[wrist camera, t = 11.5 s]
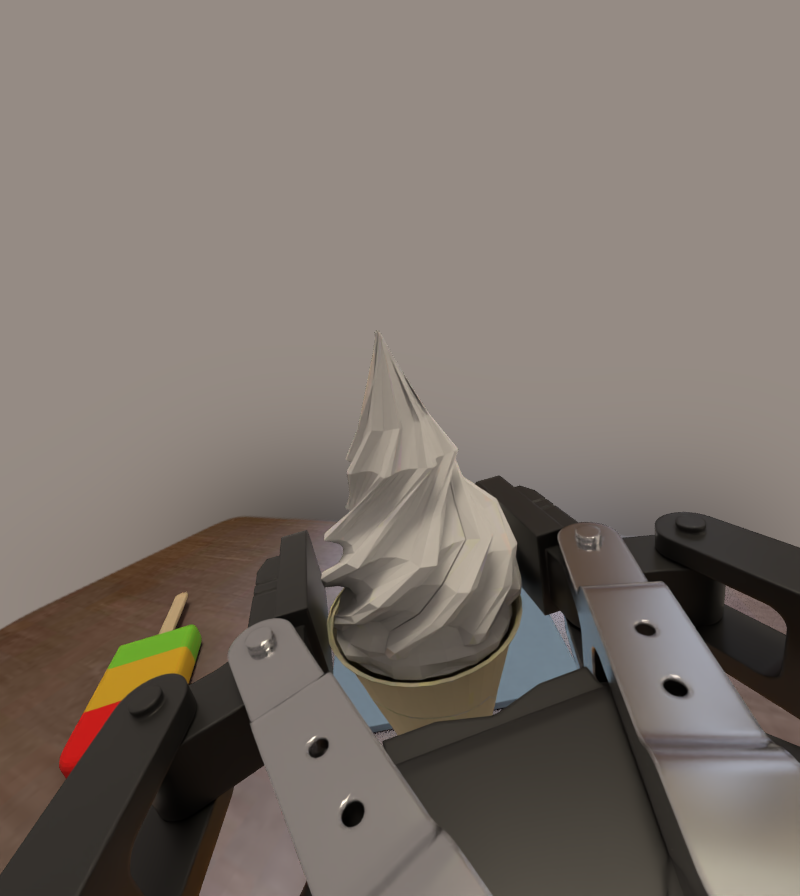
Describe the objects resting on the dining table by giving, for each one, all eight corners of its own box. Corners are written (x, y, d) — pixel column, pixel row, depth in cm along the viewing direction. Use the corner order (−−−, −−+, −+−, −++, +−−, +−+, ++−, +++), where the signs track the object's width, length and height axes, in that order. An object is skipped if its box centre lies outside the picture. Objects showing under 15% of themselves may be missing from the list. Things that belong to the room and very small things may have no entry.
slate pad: (521, 566, 32) (520, 560, 32) (588, 692, 22) (587, 685, 22) (343, 601, 33) (341, 595, 33) (327, 741, 22) (325, 734, 22)
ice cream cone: (574, 802, 13) (546, 300, 8) (472, 977, 10) (340, 348, 5) (453, 707, 17) (387, 322, 12) (352, 815, 14) (211, 358, 9)
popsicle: (60, 799, 22) (43, 775, 22) (153, 612, 36) (145, 594, 36) (168, 761, 23) (155, 737, 23) (219, 593, 37) (211, 575, 37)
